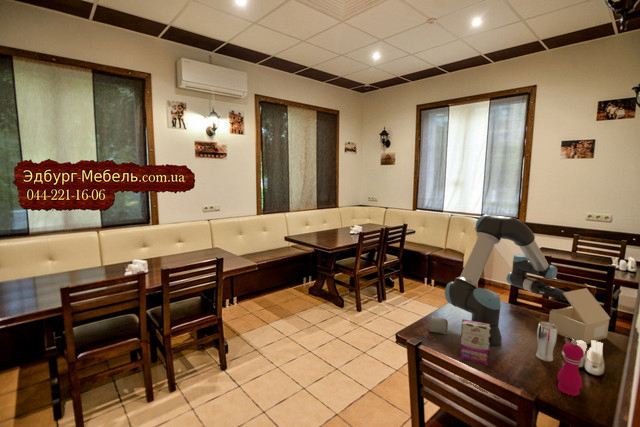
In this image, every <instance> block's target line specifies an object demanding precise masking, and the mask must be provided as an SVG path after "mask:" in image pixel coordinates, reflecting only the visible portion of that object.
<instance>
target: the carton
mask: <svg viewBox="0 0 640 427" xmlns="http://www.w3.org/2000/svg"><path fill="white" fill-rule="evenodd" d="M548 323H551V324H554V325H555V326H557V335H560V336H562V337H564V336H567V337H568V338H570V339H572V338H573V339H574V340H583V341H584V342H586V343H587V344H586V345H589V344H591V343H590V341H591V340H597V341H596V342H599V340H600V341H604V340H606V338H608V332H609V331H608V330H609V324H610V319H608V320H604V321H600V322H597V323H593V324H589V325H585V323H584V322H583V320H582V319H581V318H580V316H579V315H578V314H577V312H576V311H575V309H574V308H573V307H572V305H571V306H567V307H563V308H557V309H553V310H550V311H549V316H548ZM568 338H567V339H568ZM570 339H569V340H570Z"/></svg>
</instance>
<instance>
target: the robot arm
mask: <svg viewBox="0 0 640 427" xmlns="http://www.w3.org/2000/svg"><path fill="white" fill-rule="evenodd" d="M474 229H475V232H476V236H477V239H476V241H475V243H474V246H473V248H472V250H471V252H470V254H469V257H468V258H467V261H466V263H465V265H464V266H463V269H462V272H461V274H460V276H458V277H455V279H454V281H449V282H448V283H447V284H446V287H445V289H444V298H445V300H446V302H447V303H448V304H450V305H452V306H453V307H455V308H458V309H461V310H463V311H466V312H467V313H470V314H471V319H470V321H476V322H482V323H487V324H490V328H491V333H490V347H498V346H500V345H501V344H502V340H503V339H502V333H501V331H500V328H499V324H500V313H501V297H500V296H499V294H497V293H496V292H495V291H492V290H490V289H487V288H483V287H478V286H479V285H478V282H479V280H480V278H481V276H482V274H483V270H484V269H485V267H486V265H487V263H488V261H489V258H490V256H491V253H492V251H493V249H494V247H495V245H498V244H500V242H501V240H502V239H504V240H510V241H512V242H513V243H514V245H516V246H518V247H519V248H520V249H521V251H522V253H523V254H514V255H513V260H512V267H511V268H512V269H511V272H508V273H507V276H506V282H507V283H508V284H509V285H512V286H514V287H517V288H520V289H523V290H525V291H527V292H529V293H533V294H536V295H542V296H546V297H550V298H552V299H553V298H554V299H557V300H560V301H561V300H562V301H563V302H565V301H568V300H567V299H566V297H565V296H564V294H563V293H564V292H566V291H564V290H562V289H560V288H558V287H556V286H554V287H551V286H549V285H546V283H545V282H544V281H541V280H538V279H535V278H532V277H529V276H527V275H528V274H530V275H534V276H537V277H541V278H545V279H548V280H549V279H550V280H554V279H555V278H556V277H557V274H558V268H557V266H555V265H552V264H549V263H548V261H547V259H546V257H545V255H544V254H543V252H542V250H541V249H540V247H539V245H538V244H537V242H536V240H535V238H536V236H535V234H534V232H533V231H532V229H531V228H530V227H529V226H528V225H527V224H526V223H524V222H523V221H521V219H517V218H515V217H511V216H502V215H494V214H483V215H481V216H479V218H478V219H477V220H476V222H475V227H474Z"/></svg>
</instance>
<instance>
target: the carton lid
mask: <svg viewBox="0 0 640 427" xmlns="http://www.w3.org/2000/svg"><path fill="white" fill-rule="evenodd" d="M563 294H564V296H565V297H566V299H567V300H566V299H565V300H566V301H568V303H569V304H570V305H571V306H572V307H573V308H574V309H575V311H576V312H577V314H578V315H579V316H580V318H581V319H582V320H583V322H584V323H585V325H589V324H593V323H597V322H600V321H604V320H608V319H609V320H611V317H610V316H609V315H608V313H607V312H606V311H605V309H604V308H603V307H602V305H601V304H600V303H599V302H598V300H597V299H596V298H595V296H594V295H593V294H592V293H591V292H590V290H589V289H588V288H587V287H586V288H580V289H575V290H570V291H565V292H564V293H563Z"/></svg>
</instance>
